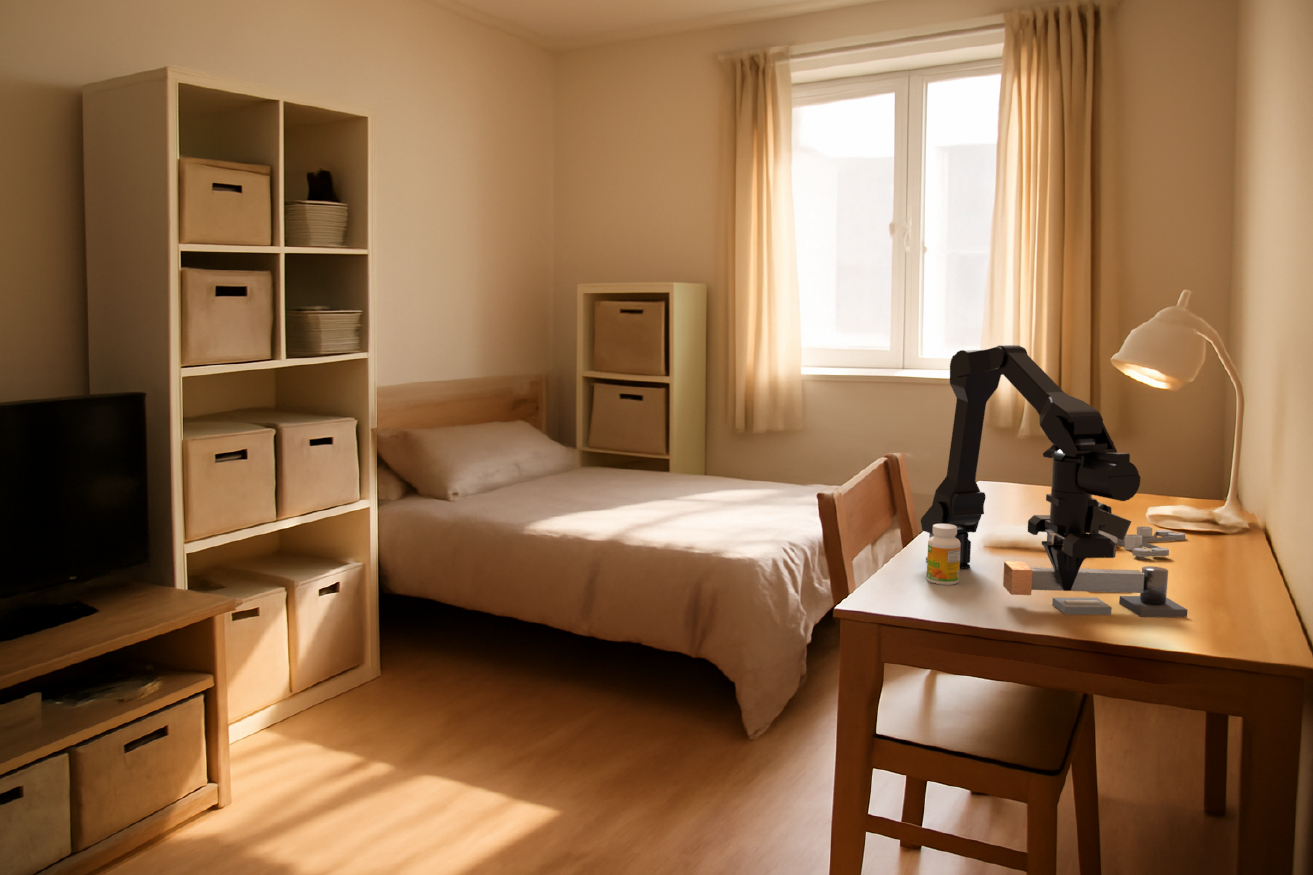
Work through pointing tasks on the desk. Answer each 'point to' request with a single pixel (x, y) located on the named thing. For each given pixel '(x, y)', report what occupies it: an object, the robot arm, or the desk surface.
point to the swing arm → (1089, 581)
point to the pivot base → (1152, 607)
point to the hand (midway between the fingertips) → (1066, 590)
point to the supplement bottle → (943, 555)
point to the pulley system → (1146, 541)
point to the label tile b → (1081, 606)
